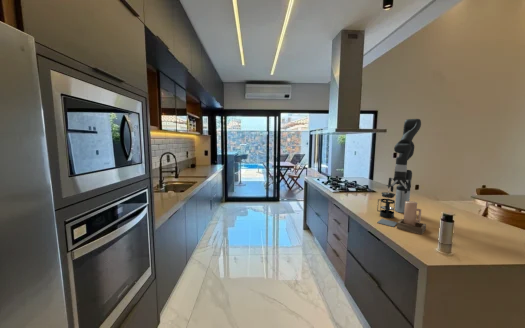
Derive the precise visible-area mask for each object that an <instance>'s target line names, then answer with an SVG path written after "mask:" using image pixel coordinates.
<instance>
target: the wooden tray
mask: <svg viewBox="0 0 525 328" xmlns="http://www.w3.org/2000/svg"><path fill="white" fill-rule="evenodd" d="M403 221H404V218H401V219H400V220H398V221H397V225H396V229H398V230H403V231H407V232H411V233H414V234H418V235H423V234H424V233H425V231H426V229H427V223H422V222H420V223H419V222H416V224H415V226H411V225H407V224H403Z"/></svg>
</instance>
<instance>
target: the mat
mask: <svg viewBox="0 0 525 328" xmlns="http://www.w3.org/2000/svg"><path fill="white" fill-rule="evenodd" d="M397 222H398V221H397ZM397 222H396V221H392V220H388V219H386V218H385V219H384V218H381V219H380V220H378V221H377V223H376V224H379V225H382V226H386V227H387V226H388V227H392V228H394V227H397Z"/></svg>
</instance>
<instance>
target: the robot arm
mask: <svg viewBox="0 0 525 328" xmlns="http://www.w3.org/2000/svg"><path fill="white" fill-rule="evenodd" d="M421 126H422V120H421V119H420V118H408V119H405V120H404V124H403V131H402V136H401V138H400V140H399V141H398V142H397V143H396V144H395V145H394V149H393V151H394V153H396V154H399V156H397V157H396V159H395V166H394V175H393V178H392V177H389V178H388V182H387V183H388V184H387V185H391V186H392V187H390V193H393V192H394V186H395V185H396V188H395V189H396V190H395V192H396V193H395V200H394V201H395V207H394V212H397V213H402V214H404V209H405V201H411V200H410V198H411V188H412V180H413V179H412V178H413V171H412V170H411V169H408V161H409V160H410V159H411V158H412V157H413V155H414V152H415V144H414V142H413V140H414V138H415V136H416V135H417V134H418V132H419V131H420V129H421V128H422V127H421ZM392 181H393V183H392Z"/></svg>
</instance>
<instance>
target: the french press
mask: <svg viewBox="0 0 525 328" xmlns="http://www.w3.org/2000/svg"><path fill="white" fill-rule="evenodd" d="M391 185H392V184H391ZM391 185H388V184H385V187H387V189H388V190H387V191H388V192H385V191H383V192H381V197H383V198H379V199H377V203H384V204H385V205H380V206H377V208H376V210H377V212H379V216H380V217H381V218H383V219H384V218H385V219H394V218H395V201H396V200H394V199H393V198H394V197H396V193H393V192H389V191H390V189H391V187H392V186H391ZM379 201H380V202H379ZM391 204H392V205H393V207H392V206H390V205H391ZM379 207H380V208H379Z"/></svg>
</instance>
